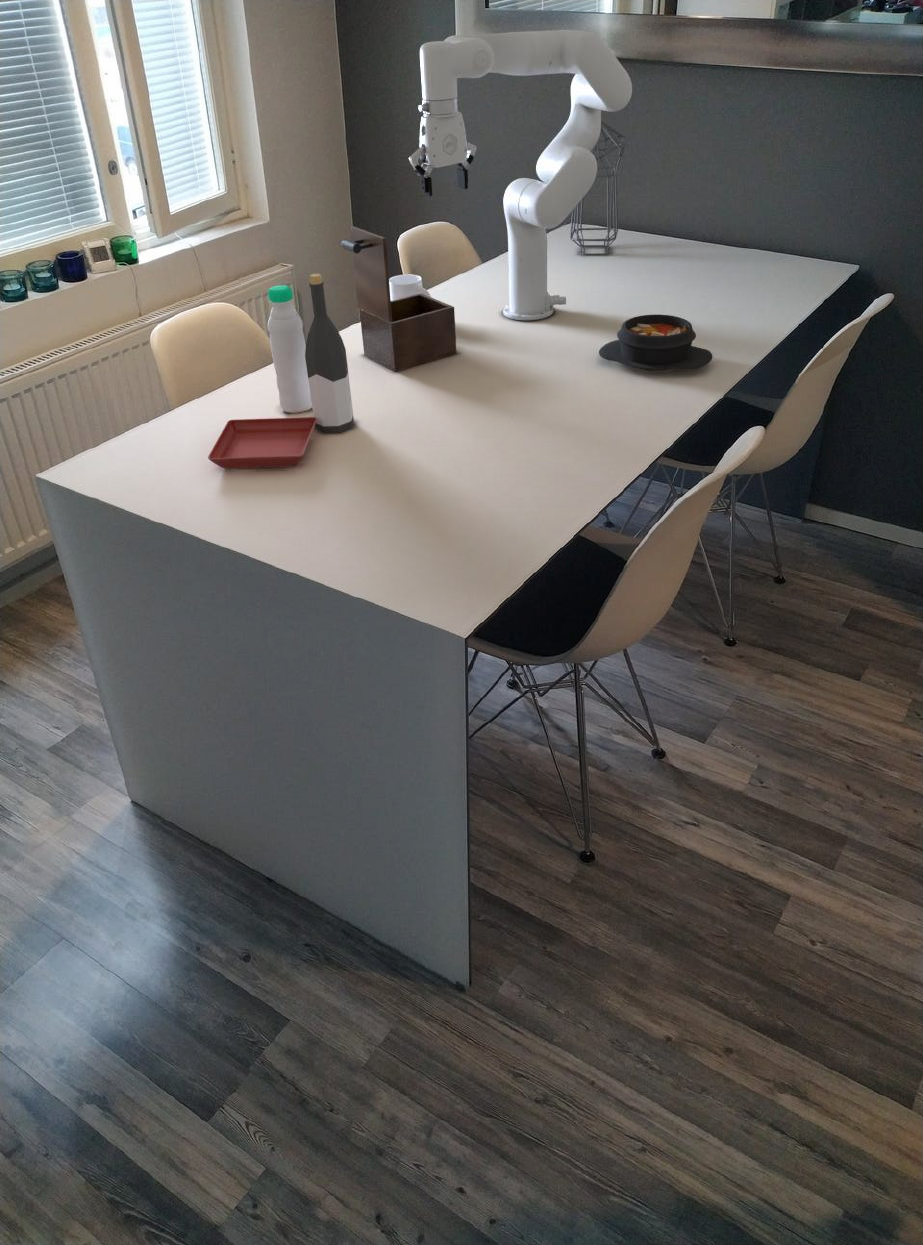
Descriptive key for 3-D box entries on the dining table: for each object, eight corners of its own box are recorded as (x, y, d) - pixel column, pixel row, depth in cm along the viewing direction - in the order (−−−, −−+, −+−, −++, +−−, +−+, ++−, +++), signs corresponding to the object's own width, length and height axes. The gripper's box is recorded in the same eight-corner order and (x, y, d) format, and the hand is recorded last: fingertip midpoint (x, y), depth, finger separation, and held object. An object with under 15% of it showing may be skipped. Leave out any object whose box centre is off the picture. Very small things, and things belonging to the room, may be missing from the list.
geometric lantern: (565, 258, 293) (567, 126, 273) (570, 243, 306) (571, 116, 285) (620, 258, 290) (626, 124, 270) (622, 243, 303) (628, 114, 283)
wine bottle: (361, 420, 205) (345, 270, 188) (341, 436, 200) (322, 283, 182) (328, 415, 208) (308, 267, 191) (307, 430, 203) (285, 279, 185)
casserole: (720, 354, 226) (724, 317, 221) (699, 384, 212) (703, 345, 207) (613, 342, 235) (615, 306, 230) (586, 370, 222) (587, 333, 217)
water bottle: (319, 402, 214) (303, 283, 200) (305, 415, 209) (287, 294, 194) (290, 399, 216) (272, 281, 202) (274, 412, 211) (254, 292, 197)
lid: (352, 225, 220) (330, 230, 217) (385, 237, 210) (362, 242, 208) (360, 306, 230) (339, 312, 227) (392, 321, 220) (370, 327, 218)
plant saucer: (230, 433, 203) (228, 418, 201) (319, 431, 202) (317, 415, 200) (209, 474, 188) (206, 458, 186) (305, 472, 187) (303, 455, 185)
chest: (424, 338, 243) (420, 293, 237) (456, 353, 234) (454, 306, 228) (364, 355, 236) (359, 309, 230) (395, 371, 226) (391, 324, 220)
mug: (442, 320, 254) (440, 278, 248) (423, 330, 248) (420, 288, 242) (405, 313, 260) (402, 272, 254) (385, 322, 254) (381, 281, 248)
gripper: (416, 115, 211) (422, 201, 221) (483, 103, 219) (486, 187, 229) (397, 111, 216) (404, 195, 226) (463, 100, 224) (466, 182, 234)
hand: (445, 191), depth 228 cm, fingers open, 9 cm apart
